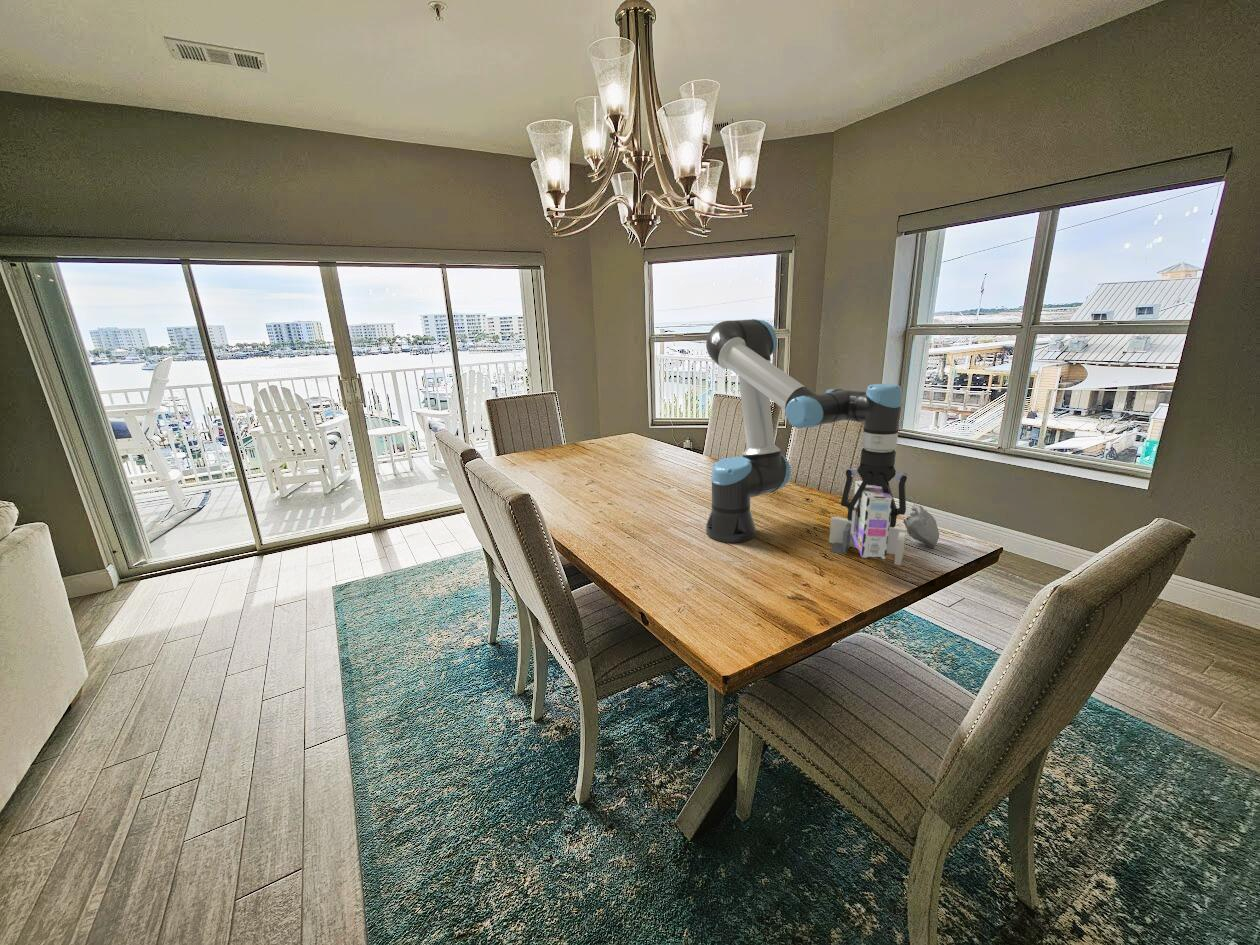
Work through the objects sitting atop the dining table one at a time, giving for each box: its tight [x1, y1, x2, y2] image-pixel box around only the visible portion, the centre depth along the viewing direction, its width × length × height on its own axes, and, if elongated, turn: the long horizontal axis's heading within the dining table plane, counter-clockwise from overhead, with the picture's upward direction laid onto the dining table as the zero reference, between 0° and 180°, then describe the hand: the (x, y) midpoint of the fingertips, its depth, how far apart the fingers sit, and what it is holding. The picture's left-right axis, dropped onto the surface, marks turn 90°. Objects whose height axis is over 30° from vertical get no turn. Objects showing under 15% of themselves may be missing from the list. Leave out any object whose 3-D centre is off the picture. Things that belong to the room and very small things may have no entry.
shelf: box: [828, 516, 907, 566], centre depth 133 cm, size 19×8×8 cm, turn 57°
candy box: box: [851, 480, 894, 560], centre depth 123 cm, size 14×6×16 cm, turn 167°
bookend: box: [829, 523, 851, 555], centre depth 135 cm, size 4×6×7 cm, turn 147°
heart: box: [902, 504, 940, 548], centre depth 134 cm, size 10×10×12 cm
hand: (869, 535), depth 123 cm, fingers closed on candy box, 7 cm apart
